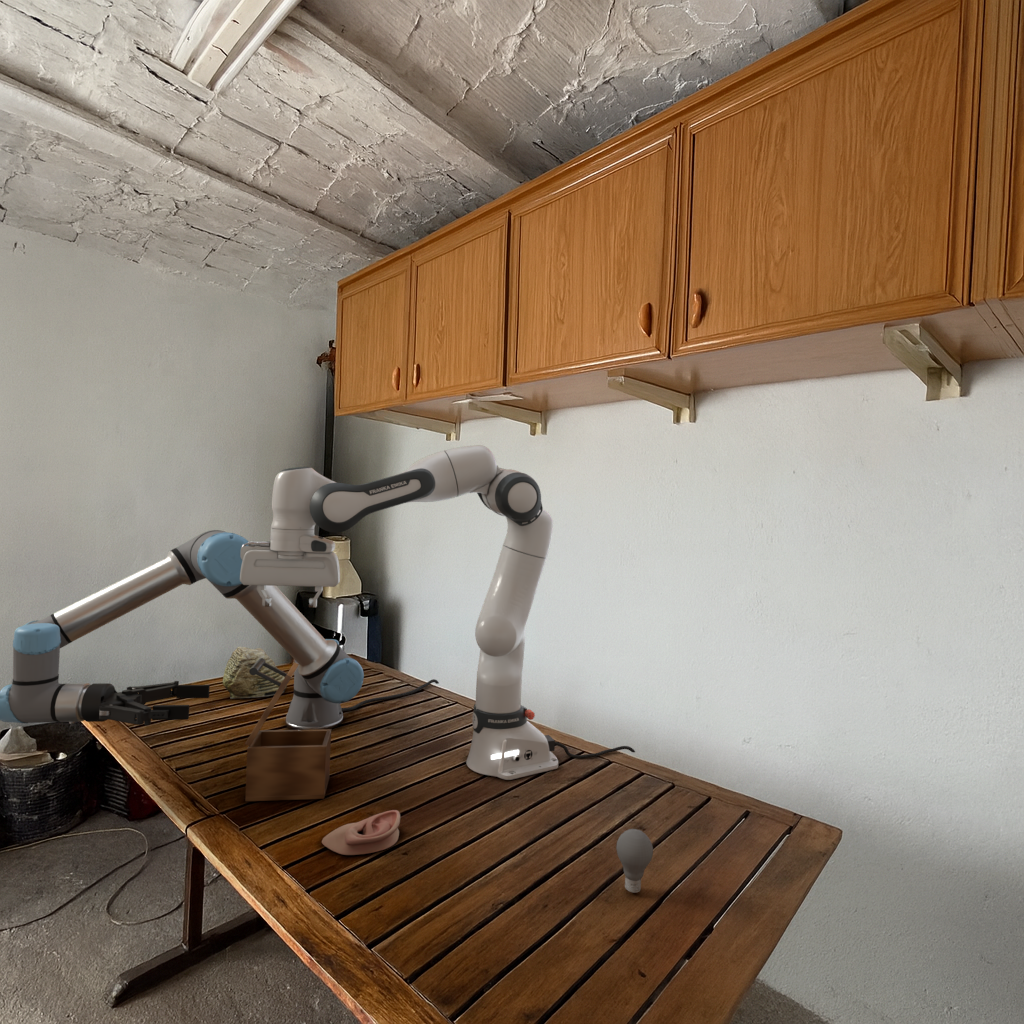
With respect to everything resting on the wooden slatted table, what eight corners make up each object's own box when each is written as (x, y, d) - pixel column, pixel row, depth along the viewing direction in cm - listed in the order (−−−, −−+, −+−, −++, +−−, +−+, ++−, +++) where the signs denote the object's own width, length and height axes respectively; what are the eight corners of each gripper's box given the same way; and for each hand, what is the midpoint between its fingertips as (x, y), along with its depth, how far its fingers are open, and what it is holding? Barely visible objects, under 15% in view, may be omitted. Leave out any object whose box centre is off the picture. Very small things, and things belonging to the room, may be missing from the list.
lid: (299, 664, 141) (266, 647, 140) (291, 677, 131) (255, 658, 130) (260, 728, 140) (226, 711, 139) (249, 746, 130) (213, 728, 129)
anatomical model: (313, 828, 113) (343, 799, 125) (313, 850, 113) (342, 819, 125) (383, 839, 111) (407, 808, 122) (382, 862, 111) (406, 829, 122)
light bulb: (610, 879, 108) (613, 822, 108) (644, 879, 109) (647, 822, 109) (619, 902, 102) (622, 840, 102) (655, 901, 103) (658, 840, 103)
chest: (329, 777, 143) (331, 729, 143) (323, 798, 133) (326, 746, 133) (256, 779, 140) (258, 730, 140) (245, 801, 130) (247, 748, 130)
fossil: (218, 695, 195) (220, 647, 195) (278, 685, 208) (279, 640, 207) (228, 703, 189) (230, 653, 188) (289, 692, 201) (290, 645, 201)
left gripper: (114, 701, 142) (215, 700, 145) (54, 744, 117) (177, 741, 121) (115, 667, 142) (216, 667, 145) (55, 704, 117) (179, 702, 121)
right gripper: (237, 541, 131) (234, 608, 131) (339, 544, 134) (336, 609, 134) (244, 539, 137) (242, 603, 137) (342, 542, 140) (339, 604, 141)
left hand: (199, 701), depth 133 cm, fingers open, 13 cm apart
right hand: (289, 606), depth 136 cm, fingers open, 8 cm apart
